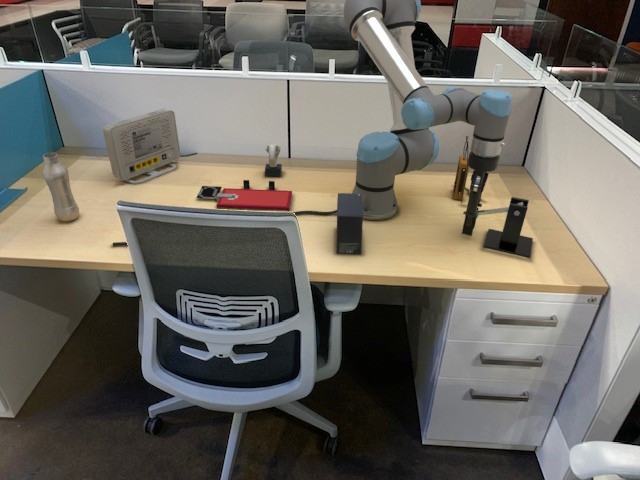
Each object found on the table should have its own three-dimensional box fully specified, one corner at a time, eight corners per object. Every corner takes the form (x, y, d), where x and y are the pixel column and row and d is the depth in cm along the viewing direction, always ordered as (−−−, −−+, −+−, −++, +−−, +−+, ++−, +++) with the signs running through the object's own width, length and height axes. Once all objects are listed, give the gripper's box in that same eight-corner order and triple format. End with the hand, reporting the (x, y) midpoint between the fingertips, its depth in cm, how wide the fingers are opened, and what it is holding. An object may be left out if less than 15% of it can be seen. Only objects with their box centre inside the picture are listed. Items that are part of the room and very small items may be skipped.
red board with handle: (203, 185, 161) (192, 207, 148) (203, 178, 159) (191, 199, 147) (292, 189, 161) (289, 211, 148) (292, 181, 159) (289, 203, 147)
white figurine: (282, 169, 174) (281, 140, 168) (280, 179, 167) (279, 149, 161) (266, 169, 174) (265, 140, 168) (264, 178, 167) (263, 149, 161)
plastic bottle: (57, 226, 138) (37, 161, 127) (56, 215, 143) (36, 152, 132) (82, 221, 140) (63, 157, 130) (80, 211, 145) (62, 149, 135)
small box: (335, 229, 139) (337, 192, 133) (359, 229, 139) (362, 192, 133) (335, 254, 128) (337, 215, 122) (361, 255, 128) (364, 216, 122)
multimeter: (486, 208, 151) (500, 149, 141) (454, 205, 153) (465, 146, 142) (482, 189, 164) (494, 132, 153) (452, 186, 165) (462, 130, 155)
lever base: (482, 250, 131) (493, 205, 124) (487, 232, 139) (498, 190, 132) (529, 260, 127) (543, 215, 120) (531, 242, 135) (544, 199, 128)
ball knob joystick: (465, 223, 133) (462, 211, 132) (467, 217, 136) (465, 206, 134) (524, 216, 125) (521, 204, 124) (525, 210, 128) (522, 198, 127)
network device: (171, 159, 181) (162, 106, 170) (186, 164, 176) (179, 111, 166) (111, 181, 163) (97, 124, 152) (126, 188, 159) (114, 130, 148)
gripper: (496, 167, 115) (477, 248, 128) (503, 144, 128) (485, 220, 141) (464, 161, 118) (449, 241, 130) (475, 140, 131) (460, 214, 143)
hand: (468, 230), depth 136 cm, fingers closed on ball knob joystick, 4 cm apart
